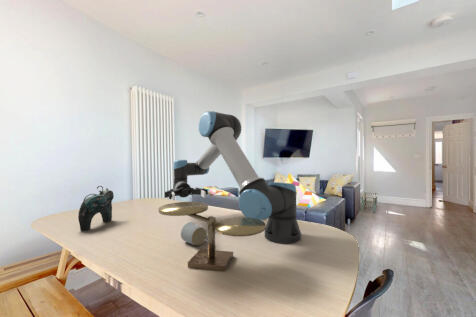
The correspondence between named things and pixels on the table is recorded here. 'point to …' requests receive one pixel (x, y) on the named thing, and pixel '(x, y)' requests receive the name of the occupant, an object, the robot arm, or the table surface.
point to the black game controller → (95, 208)
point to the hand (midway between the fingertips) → (189, 196)
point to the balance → (213, 233)
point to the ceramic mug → (193, 233)
